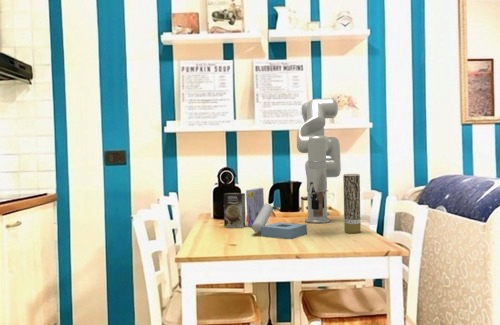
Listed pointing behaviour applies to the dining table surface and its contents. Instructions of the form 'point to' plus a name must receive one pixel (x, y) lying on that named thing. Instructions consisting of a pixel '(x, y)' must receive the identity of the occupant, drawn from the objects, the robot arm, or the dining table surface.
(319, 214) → the peg
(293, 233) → the socket
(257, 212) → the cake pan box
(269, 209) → the tube
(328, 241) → the dining table surface
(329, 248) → the dining table surface
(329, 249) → the dining table surface
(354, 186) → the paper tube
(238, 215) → the coffee box
